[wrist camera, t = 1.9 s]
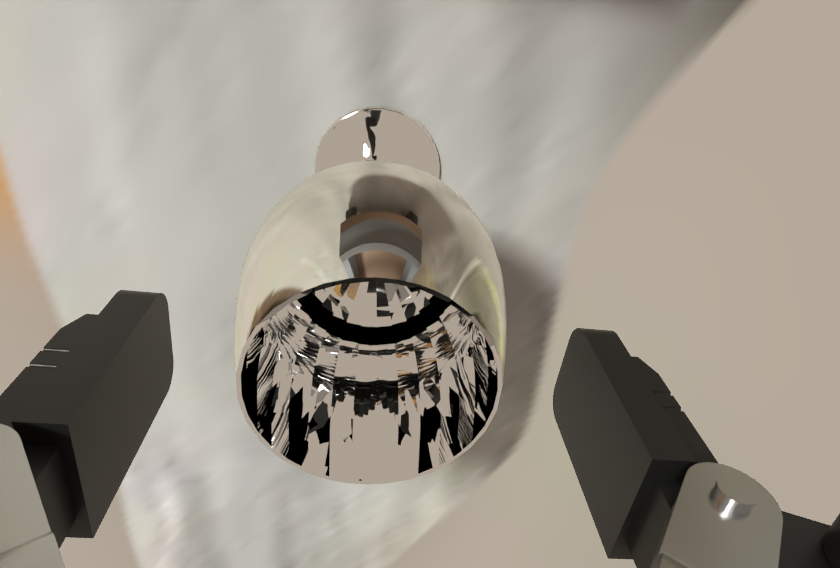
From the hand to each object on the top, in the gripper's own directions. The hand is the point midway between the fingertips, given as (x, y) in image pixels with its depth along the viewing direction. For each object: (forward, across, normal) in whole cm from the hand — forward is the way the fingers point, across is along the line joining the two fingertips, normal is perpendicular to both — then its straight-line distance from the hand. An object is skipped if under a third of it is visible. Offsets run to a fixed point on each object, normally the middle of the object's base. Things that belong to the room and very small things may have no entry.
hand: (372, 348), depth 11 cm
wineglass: (+11, 0, 0) cm, 11 cm away
